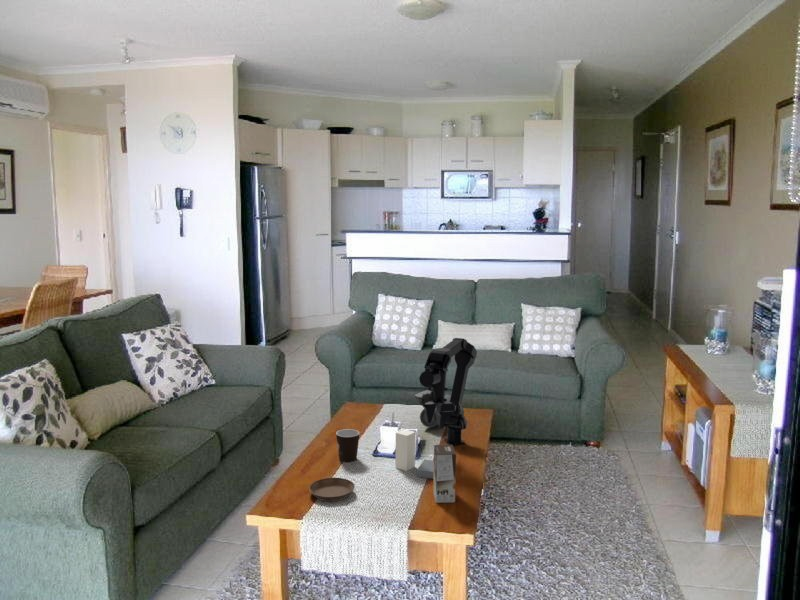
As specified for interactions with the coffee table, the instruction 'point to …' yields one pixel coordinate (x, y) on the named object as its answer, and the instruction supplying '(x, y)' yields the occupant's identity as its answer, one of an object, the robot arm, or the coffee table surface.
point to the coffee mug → (347, 444)
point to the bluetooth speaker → (435, 417)
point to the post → (405, 450)
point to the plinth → (426, 469)
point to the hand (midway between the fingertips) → (435, 425)
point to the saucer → (331, 489)
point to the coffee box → (444, 473)
